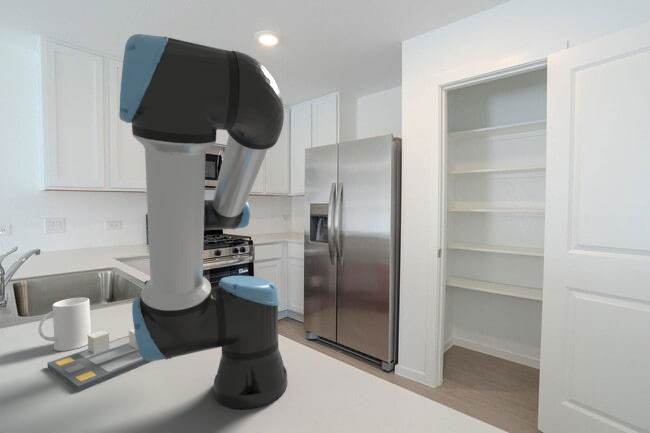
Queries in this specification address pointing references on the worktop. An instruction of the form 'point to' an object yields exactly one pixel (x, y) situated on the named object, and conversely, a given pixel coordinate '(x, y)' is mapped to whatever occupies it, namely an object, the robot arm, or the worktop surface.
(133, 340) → the cream cube block
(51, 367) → the switch bank
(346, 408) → the worktop surface
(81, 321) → the mug
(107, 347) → the off-white cube
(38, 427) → the worktop surface
